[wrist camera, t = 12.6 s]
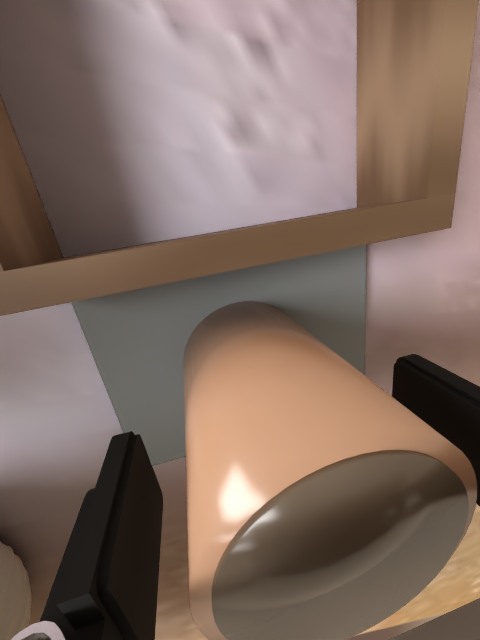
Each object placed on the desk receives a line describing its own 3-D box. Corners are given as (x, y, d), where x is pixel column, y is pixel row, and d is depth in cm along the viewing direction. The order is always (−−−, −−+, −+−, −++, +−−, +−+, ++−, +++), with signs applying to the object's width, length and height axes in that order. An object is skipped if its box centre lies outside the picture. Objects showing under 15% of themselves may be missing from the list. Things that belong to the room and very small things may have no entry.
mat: (74, 294, 12) (69, 298, 11) (358, 240, 14) (366, 240, 13) (140, 461, 15) (138, 470, 14) (358, 397, 17) (364, 403, 17)
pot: (169, 316, 12) (144, 513, 4) (297, 289, 13) (513, 394, 5) (197, 424, 14) (224, 702, 6) (305, 394, 15) (461, 595, 7)
